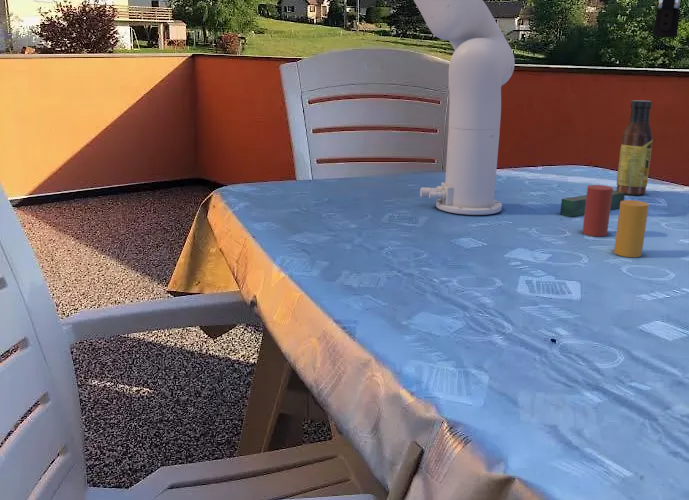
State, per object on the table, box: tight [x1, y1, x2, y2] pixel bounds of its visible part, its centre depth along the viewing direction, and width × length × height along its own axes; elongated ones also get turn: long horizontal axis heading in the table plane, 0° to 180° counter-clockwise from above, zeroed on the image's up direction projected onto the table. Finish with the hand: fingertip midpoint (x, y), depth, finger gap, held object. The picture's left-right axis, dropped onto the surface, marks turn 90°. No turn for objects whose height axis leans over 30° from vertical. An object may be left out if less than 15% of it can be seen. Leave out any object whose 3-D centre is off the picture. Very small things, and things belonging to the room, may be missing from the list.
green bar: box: [559, 189, 626, 218], centre depth 137 cm, size 16×3×3 cm, turn 125°
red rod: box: [582, 184, 614, 237], centre depth 119 cm, size 4×4×8 cm
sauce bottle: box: [616, 99, 654, 196], centre depth 152 cm, size 7×6×20 cm
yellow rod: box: [613, 199, 650, 258], centre depth 108 cm, size 4×4×8 cm
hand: (665, 36), depth 116 cm, fingers open, 9 cm apart
